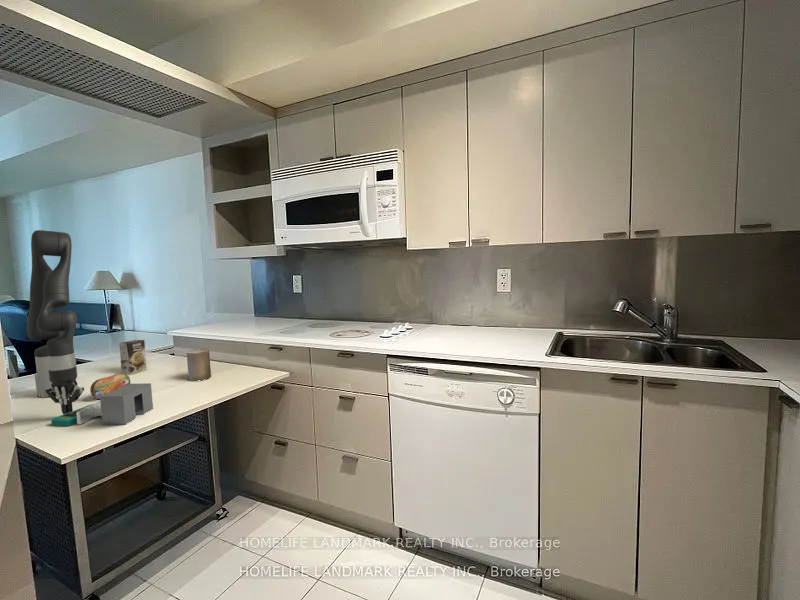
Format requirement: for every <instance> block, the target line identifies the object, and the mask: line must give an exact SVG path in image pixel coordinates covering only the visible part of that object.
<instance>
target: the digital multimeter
mask: <svg viewBox="0 0 800 600" xmlns="http://www.w3.org/2000/svg"><path fill="white" fill-rule="evenodd" d="M93 404H94V403H93ZM93 404H92V403H91V404H88V405H85V406H83V407H81V408H77V409H75V410H73V411H72V412H69V413H66V414H63V413H62V414H61V415H57V416H55V417H53V418H51V419H50V421H51V426H56V427H57V426H59V427H69V426H72V424H73V425H75V424H77V415H76V412H77V411H79V410H81V409H84V408H86V407H88V406H90V405H93Z"/></svg>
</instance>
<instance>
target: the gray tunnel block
mask: <svg viewBox="0 0 800 600" xmlns="http://www.w3.org/2000/svg"><path fill="white" fill-rule="evenodd" d="M152 392H153V391H152V383H147V382H146V383H143V382H142V383H130V384H128V385H126V386H123V387H121V388H119V389H116V390H114V391H112V392H109V393H107V394H105V395H102V396H100V399H99V400H100V403H101V413H102V416H101V421H102V426H120V425H121V426H125V425H128V424H129V422H130V423H131V422H133V421H135V420H136V419H137V415H145V414H144V413H146V412H147V413H149V412H151V411H152V410H151V409H153V410H154V406H153V405H154V403H153V402H154V401H153V394H152ZM150 410H151V411H150ZM148 411H149V412H148ZM147 413H146V414H147ZM135 418H136V419H135ZM134 419H135V420H134ZM132 420H133V421H132ZM127 423H128V424H127Z"/></svg>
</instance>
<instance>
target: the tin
mask: <svg viewBox="0 0 800 600" xmlns="http://www.w3.org/2000/svg"><path fill="white" fill-rule="evenodd" d="M128 384H131V378H130V376H129V375H127V374H122V373H114V374H111V375H107V376H106V377H105V376H104V377H102V378H98V379H95V381H93V382H92V384H91V385H90V390H89V392H90V395H91V396H92V397H93V398H94V399H98V400H100V396H102V395H105V394H107V393H109V392H112V391H114V390H116V389H119V388H121V387H123V386H126V385H128Z"/></svg>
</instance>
